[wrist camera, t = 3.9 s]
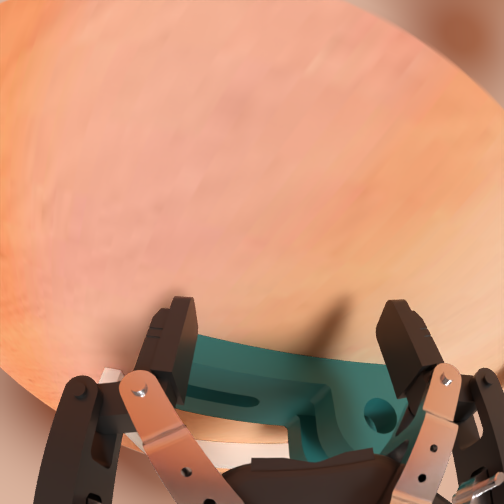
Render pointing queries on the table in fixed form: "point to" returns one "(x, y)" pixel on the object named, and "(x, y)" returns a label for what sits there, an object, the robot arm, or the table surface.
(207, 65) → the table surface
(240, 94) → the table surface
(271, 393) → the bracket
